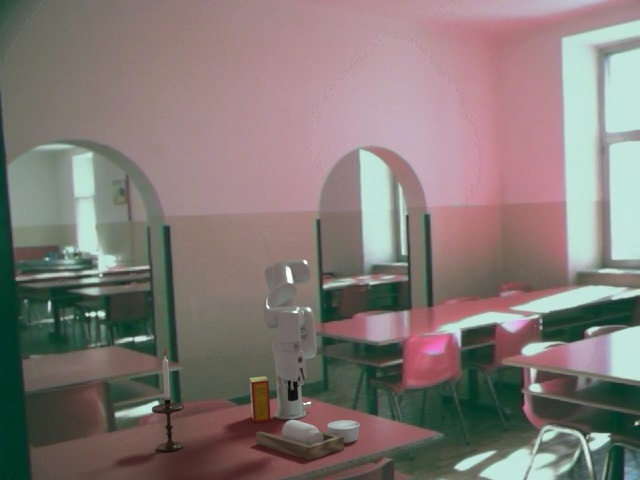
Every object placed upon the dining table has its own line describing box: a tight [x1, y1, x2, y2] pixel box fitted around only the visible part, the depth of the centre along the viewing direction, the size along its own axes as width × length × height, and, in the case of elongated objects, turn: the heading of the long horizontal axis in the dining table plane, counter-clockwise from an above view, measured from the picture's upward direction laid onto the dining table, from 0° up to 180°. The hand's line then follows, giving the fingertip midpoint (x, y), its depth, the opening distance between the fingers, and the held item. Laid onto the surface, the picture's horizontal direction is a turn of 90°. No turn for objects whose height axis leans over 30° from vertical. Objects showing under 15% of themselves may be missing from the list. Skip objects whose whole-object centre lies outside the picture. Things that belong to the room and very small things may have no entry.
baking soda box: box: [248, 376, 272, 424], centre depth 278 cm, size 10×6×16 cm
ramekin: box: [326, 419, 361, 444], centre depth 245 cm, size 11×11×5 cm
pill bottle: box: [281, 419, 323, 445], centre depth 239 cm, size 8×8×15 cm
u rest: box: [255, 430, 345, 461], centre depth 239 cm, size 15×28×4 cm, turn 42°
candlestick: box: [151, 347, 185, 453], centre depth 246 cm, size 11×11×35 cm
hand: (293, 400), depth 241 cm, fingers closed
